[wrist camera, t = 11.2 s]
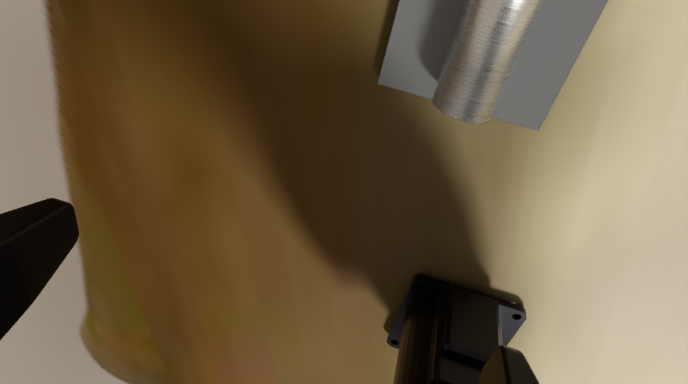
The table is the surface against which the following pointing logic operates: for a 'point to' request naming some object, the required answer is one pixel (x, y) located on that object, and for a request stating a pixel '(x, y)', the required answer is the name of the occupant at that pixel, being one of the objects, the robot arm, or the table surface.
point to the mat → (528, 72)
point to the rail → (483, 57)
